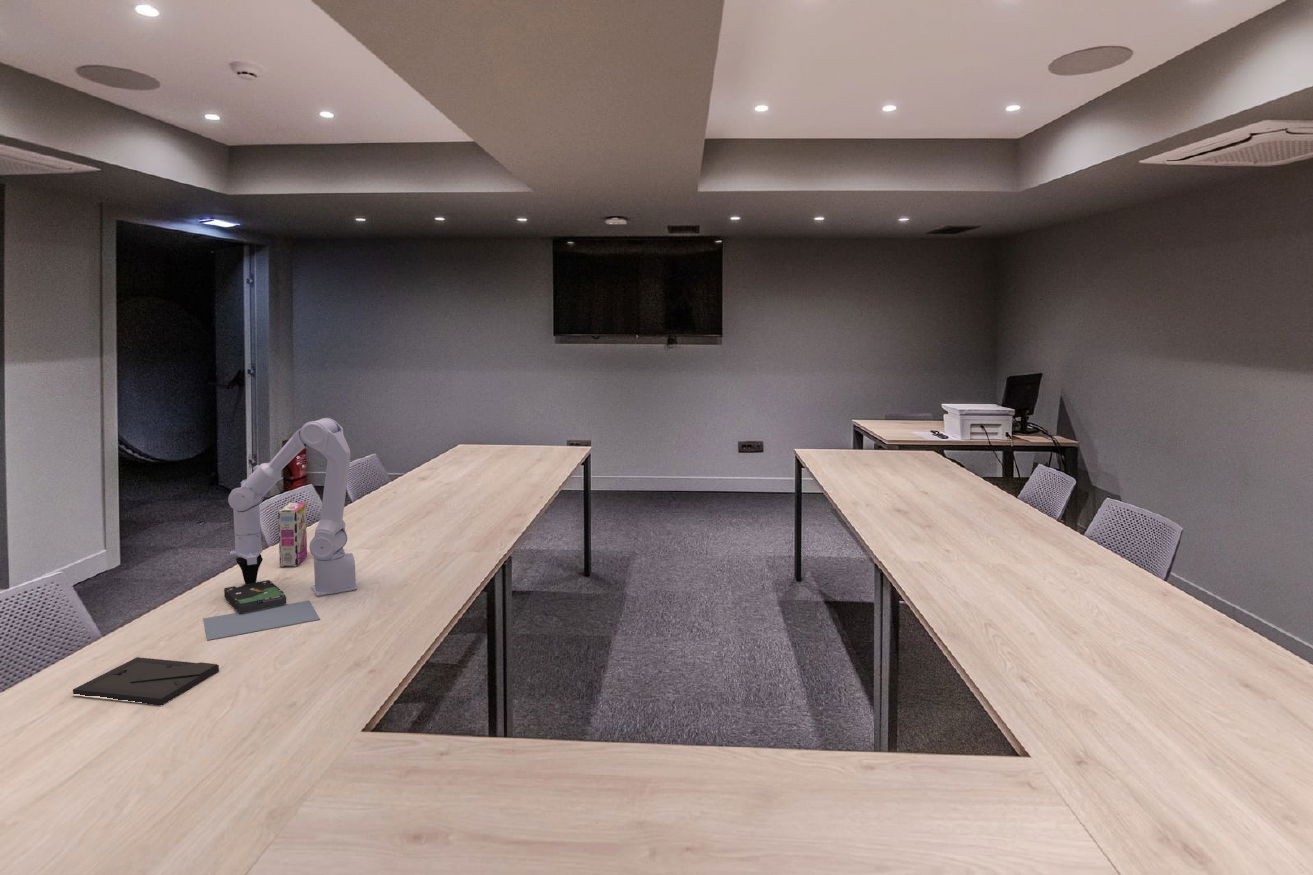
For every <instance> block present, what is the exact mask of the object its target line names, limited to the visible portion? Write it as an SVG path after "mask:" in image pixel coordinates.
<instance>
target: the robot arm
mask: <svg viewBox="0 0 1313 875" xmlns="http://www.w3.org/2000/svg"><path fill="white" fill-rule="evenodd" d="M306 448H312V449H313V450H316V451H317V452H319V453H320V454H321V455H322V456H323V457H324V458H325V459H326V460H327V462H326V470H325V478H324V485H323V495H322V502H321V503H322V504H321V510H320V518H319V522H318V524H317V526H316V528H315V529H314V530H315V531H314V535H313V538H312V539H311V541H310V542H309V552H310V554H311V555H312V556H313V566H314V567H313V568H314V570H313V571H314V585H310V588H311V589H312V591H313V593H314V594H315V596H316V597H321V596H326V595H327V596H328V595H332V594H338V593H343V592H351V591H355V590H357V580H356V561H355V557H354V555H353V553H351V552H347V553H346V552H345V550H344V547H345V546H346V545H347V542H348V533H347V531H346V522H345V521H344V519H343V518H344V511H345V510H344V509H345V502H346V501H345V500H346V496H347V494H346V493H347V486H348V479H349V473H350V466H351V464H350V463H351V455H352V452H351V449H350V446H349V444H348V442H347V440H346V437H345V436H344V428H343V427H342V426H341V425H340V424H339V423H338V422H337V421H336V420H334V418H333V419H332V418H330V417H323V418H320V419H317V420H311V421H308V422H305V423H304V424H303V425H302V426H301V428H300V429H298V430H297V431H295V432H294V433H293V434H292V436H291V437H290V438H289V440H288V441H286V443H285V444H283V446H282V447H281V449H280V450H278V452H277V453H276V455H274V457H273V458H272V459H271V460H270V461H269V462H263V463H261V464H260V465H259V464H258V465H255V466H254V467H253V468H252V470H253V472H252V473H251V474H250V475H249V476H248V477H247V478H246V479H243V480H242V481H241V482H240V487H235V488H234V489H232V490H231V492H230V493H229V495H228V497H227V498H228V499H227V502H228V505H229V507H230V508H232V510H233V527H234V528H233V530H234V543H235V544H234V546H235V548H234V549H235V550H231V551H230V553H229V554H230V555H231V556H237V557H236V558H235V560H236V564H237V565H238V566H239V567H240V570H241V573H242V577H243V582H244V584H249V583H255V582H257V578H258V573H259V569H260V566H261V564H262V562H263V556H262V553H263V547H262V531H261V515H260V514H261V511H260V510H261V509H260V505H261V504H262V502H263V500H264V497H265V496H266V495H267V493H269V492H270V491H271V489H272V488H273V487H274V486H275V485H276V484H277V483H278V482H279V480H281V479H282V470H283V469H284V468H285V467H286V466H287V465H288V464H290V463H291V461H292V460H293V459H294V458H295V457H297V455H298V454H300V453H301V452H302V450H304V449H306Z"/></svg>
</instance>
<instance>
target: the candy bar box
mask: <svg viewBox="0 0 1313 875" xmlns="http://www.w3.org/2000/svg"><path fill="white" fill-rule="evenodd" d="M306 506H307V503H306V502H289V503H287V504H286V505H284V506H283V507H282V508H280V509H279V510H277V515H278V516H277V517H278V518H277V519H278V520H277V521H278V547H279V551H278V552H279V568H297V567H298V566H299V565H300V564H301V563H302V562H303V561H304V560H305V558H306V557H307V556H308V544H307V543H308V542H307V540H308V539H307V534H308V533H307V507H306Z"/></svg>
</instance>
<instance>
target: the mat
mask: <svg viewBox="0 0 1313 875" xmlns="http://www.w3.org/2000/svg"><path fill="white" fill-rule="evenodd" d="M320 620H321V617H320V616H319V614H318V613H317V611H316V609H315V608H314V606H313V604H312V603H311V601H310V600H304V601H298V602H291V603H286V604H284V605H280V606H275V607H271V608H265V609H261V610H256V611H251V612H245V613H239V612H232V613H228V614H227V613H226V614H222V615H221V614H220V615H215V616H211V617H205V618H203V623H204V624H203V625H204V630H205V635H206V642H207V641H214V640H219V639H224V638H230V637H234V636H235V637H236V636H240V635H246V634H251V633H256V632H261V631H266V630H272V629H278V628H284V627H288V626H294V625H298V624H300V625H301V624H304V623H305V624H306V623H309V622H310V623H311V622H315V621H320Z"/></svg>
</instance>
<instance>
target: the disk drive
mask: <svg viewBox="0 0 1313 875" xmlns="http://www.w3.org/2000/svg"><path fill="white" fill-rule="evenodd" d="M223 592H224V598H225V600H226V601H227V602H228V603H229V604H230V605H231V606H232V607H233V608H234V610H235V611H236V613H238V612H239V613H245V612H251V611H256V610H261V609H265V608H271V607H275V606H280V605H285V604H287V596H286V594H285V592H284V591H283V590H281V589H280V588H279V587H278V586H277V585H276V584H274V583H273V582H272V581H271V580H270V579H267V580H261V581H258V582H257V581H256V582H255V583H249V584H245V583H244V584H242V586H237V587H236V586H228V587H224V589H223Z"/></svg>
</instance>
